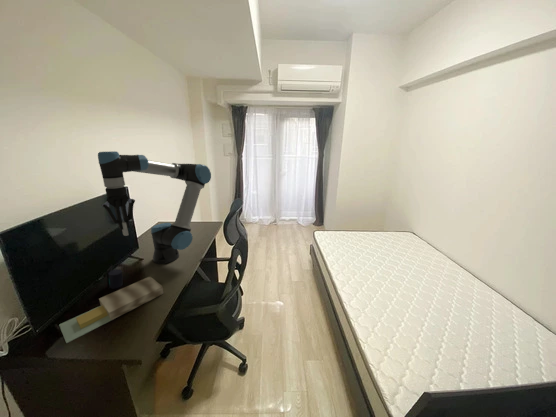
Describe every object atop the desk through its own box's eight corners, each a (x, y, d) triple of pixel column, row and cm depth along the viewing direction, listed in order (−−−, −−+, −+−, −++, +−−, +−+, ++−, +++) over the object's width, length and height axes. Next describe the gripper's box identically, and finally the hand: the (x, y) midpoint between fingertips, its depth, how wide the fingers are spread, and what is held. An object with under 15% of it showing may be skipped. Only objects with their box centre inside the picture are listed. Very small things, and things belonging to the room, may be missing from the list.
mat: (100, 305, 100) (100, 305, 100) (111, 320, 92) (111, 319, 92) (59, 325, 90) (59, 324, 90) (66, 343, 82) (66, 342, 82)
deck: (151, 282, 117) (149, 276, 116) (163, 293, 109) (162, 286, 108) (100, 305, 100) (98, 298, 99) (111, 320, 92) (109, 312, 91)
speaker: (103, 288, 112) (101, 270, 109) (112, 282, 118) (111, 265, 115) (116, 291, 111) (115, 273, 109) (125, 284, 117) (124, 267, 114)
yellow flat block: (103, 309, 98) (102, 305, 97) (107, 315, 95) (106, 311, 94) (77, 321, 91) (75, 317, 91) (80, 328, 88) (79, 324, 87)
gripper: (128, 183, 106) (137, 229, 112) (94, 188, 96) (107, 237, 103) (134, 185, 101) (143, 232, 108) (100, 190, 91) (112, 241, 98)
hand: (125, 234), depth 105 cm, fingers closed
